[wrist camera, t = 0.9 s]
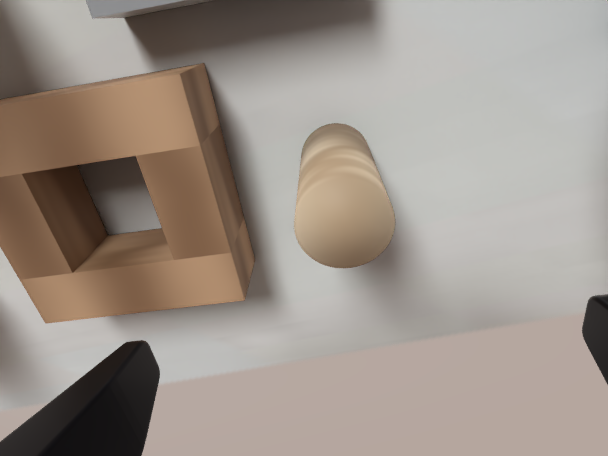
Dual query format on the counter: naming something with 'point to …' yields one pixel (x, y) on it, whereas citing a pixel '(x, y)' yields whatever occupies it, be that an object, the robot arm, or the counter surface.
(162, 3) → the gray square tray
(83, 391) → the robot arm
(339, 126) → the beige wooden peg
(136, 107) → the brown square frame
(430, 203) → the counter surface
